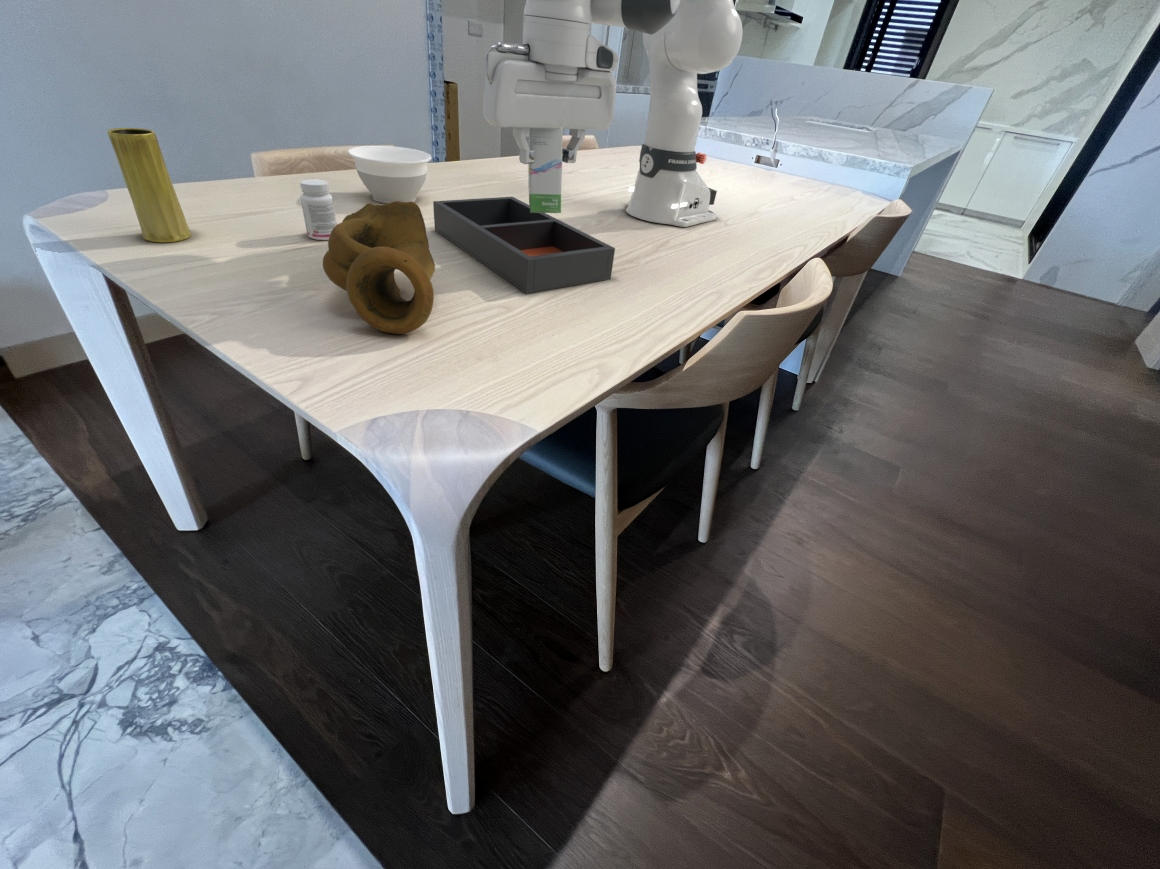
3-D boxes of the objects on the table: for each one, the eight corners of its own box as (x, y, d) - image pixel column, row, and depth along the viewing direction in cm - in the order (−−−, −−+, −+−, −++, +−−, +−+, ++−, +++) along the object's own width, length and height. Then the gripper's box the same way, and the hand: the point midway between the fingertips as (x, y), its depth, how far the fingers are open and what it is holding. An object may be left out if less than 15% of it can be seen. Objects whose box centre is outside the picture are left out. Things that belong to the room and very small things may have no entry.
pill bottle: (345, 236, 90) (336, 182, 85) (323, 242, 86) (313, 187, 81) (323, 229, 91) (314, 176, 86) (301, 236, 88) (290, 181, 83)
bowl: (423, 212, 106) (420, 165, 101) (342, 203, 105) (334, 155, 100) (441, 194, 118) (439, 151, 113) (368, 185, 118) (363, 142, 112)
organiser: (511, 223, 106) (512, 196, 103) (610, 279, 87) (615, 248, 84) (434, 230, 98) (432, 201, 95) (526, 294, 79) (527, 259, 75)
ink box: (529, 206, 87) (526, 123, 81) (560, 206, 88) (560, 123, 82) (529, 213, 80) (526, 122, 74) (563, 213, 80) (563, 123, 75)
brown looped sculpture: (480, 225, 78) (449, 247, 59) (452, 306, 84) (416, 350, 64) (355, 168, 74) (278, 171, 55) (334, 256, 80) (258, 287, 60)
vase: (197, 239, 82) (164, 134, 73) (150, 245, 78) (109, 135, 69) (183, 228, 85) (150, 126, 76) (137, 233, 81) (97, 127, 72)
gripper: (498, 41, 63) (497, 169, 71) (628, 57, 74) (613, 166, 82) (473, 37, 67) (474, 159, 75) (600, 52, 77) (588, 157, 86)
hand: (548, 162), depth 78 cm, fingers closed on ink box, 6 cm apart
